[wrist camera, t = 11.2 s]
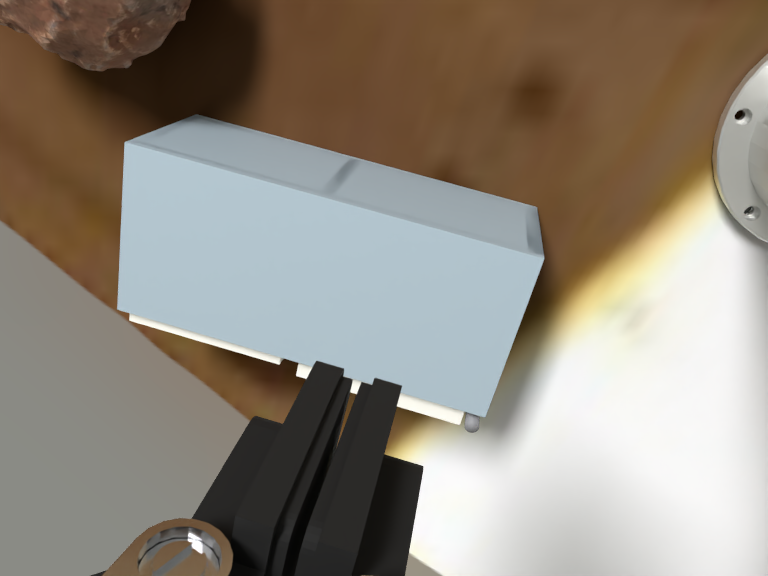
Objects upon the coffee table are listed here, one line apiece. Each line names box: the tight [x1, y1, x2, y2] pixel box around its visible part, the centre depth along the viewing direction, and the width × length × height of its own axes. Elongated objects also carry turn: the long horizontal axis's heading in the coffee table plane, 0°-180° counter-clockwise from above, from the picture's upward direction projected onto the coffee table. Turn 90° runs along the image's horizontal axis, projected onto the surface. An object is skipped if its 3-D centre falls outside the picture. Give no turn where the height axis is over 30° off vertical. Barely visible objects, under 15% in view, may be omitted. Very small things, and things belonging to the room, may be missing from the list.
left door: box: [296, 363, 480, 433], centre depth 41 cm, size 11×2×8 cm, turn 77°
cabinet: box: [117, 114, 544, 417], centre depth 39 cm, size 22×12×8 cm, turn 77°
